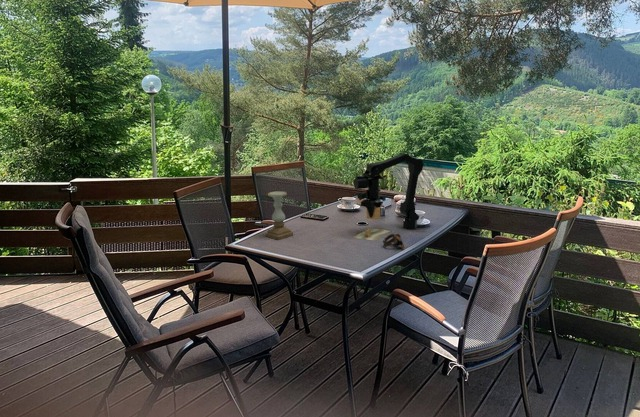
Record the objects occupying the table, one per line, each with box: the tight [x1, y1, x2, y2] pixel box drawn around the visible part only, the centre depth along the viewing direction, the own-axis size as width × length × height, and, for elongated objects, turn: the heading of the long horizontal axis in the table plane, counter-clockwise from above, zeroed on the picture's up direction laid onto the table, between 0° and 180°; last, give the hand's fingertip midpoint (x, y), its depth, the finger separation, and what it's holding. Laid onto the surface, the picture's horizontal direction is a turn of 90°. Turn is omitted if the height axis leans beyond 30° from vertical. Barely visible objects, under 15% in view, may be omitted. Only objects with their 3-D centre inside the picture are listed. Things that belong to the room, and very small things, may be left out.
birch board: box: [352, 227, 391, 242], centre depth 258 cm, size 13×20×1 cm, turn 149°
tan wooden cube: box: [366, 207, 381, 221], centre depth 258 cm, size 5×5×6 cm
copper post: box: [364, 228, 370, 237], centre depth 254 cm, size 3×3×4 cm
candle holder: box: [265, 190, 294, 241], centre depth 260 cm, size 11×11×24 cm
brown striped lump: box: [382, 233, 405, 251], centre depth 238 cm, size 12×10×8 cm
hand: (373, 216), depth 258 cm, fingers closed on tan wooden cube, 5 cm apart
